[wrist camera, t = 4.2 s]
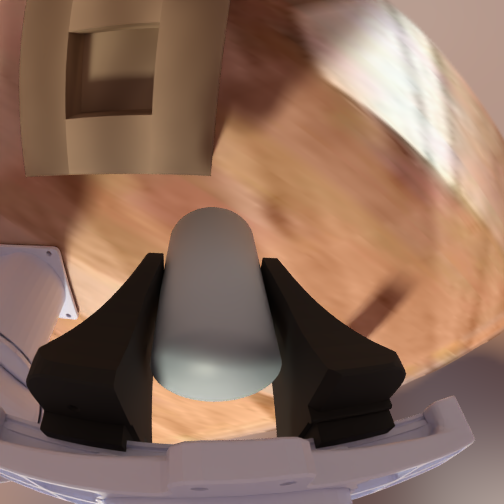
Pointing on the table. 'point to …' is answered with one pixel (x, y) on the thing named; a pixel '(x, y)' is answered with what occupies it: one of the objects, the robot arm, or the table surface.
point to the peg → (213, 312)
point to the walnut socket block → (120, 86)
